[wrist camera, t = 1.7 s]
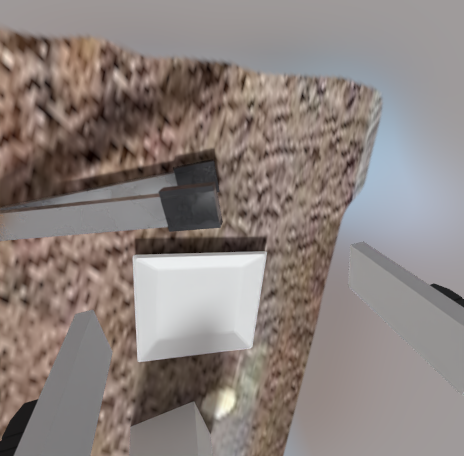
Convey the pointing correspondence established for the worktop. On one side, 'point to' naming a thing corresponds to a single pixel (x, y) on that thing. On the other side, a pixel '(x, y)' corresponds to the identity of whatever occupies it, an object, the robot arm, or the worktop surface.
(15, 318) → the worktop surface
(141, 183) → the base
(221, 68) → the worktop surface
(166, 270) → the plate
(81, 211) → the bar
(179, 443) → the milk
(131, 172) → the worktop surface
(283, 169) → the worktop surface
